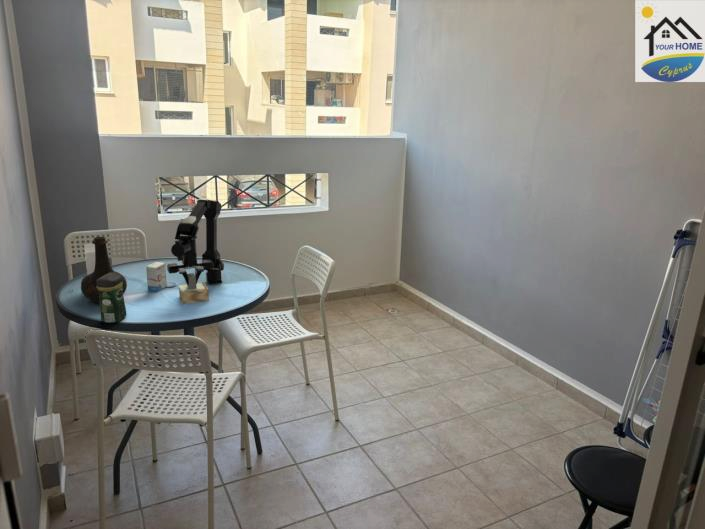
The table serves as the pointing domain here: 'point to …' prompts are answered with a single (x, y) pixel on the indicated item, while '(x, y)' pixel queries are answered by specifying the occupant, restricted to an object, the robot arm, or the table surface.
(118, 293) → the coffee jar
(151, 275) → the ink box
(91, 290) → the glass bottle
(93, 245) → the milk
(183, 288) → the cover plate
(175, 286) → the table surface
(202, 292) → the oak box
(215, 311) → the table surface
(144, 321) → the table surface
